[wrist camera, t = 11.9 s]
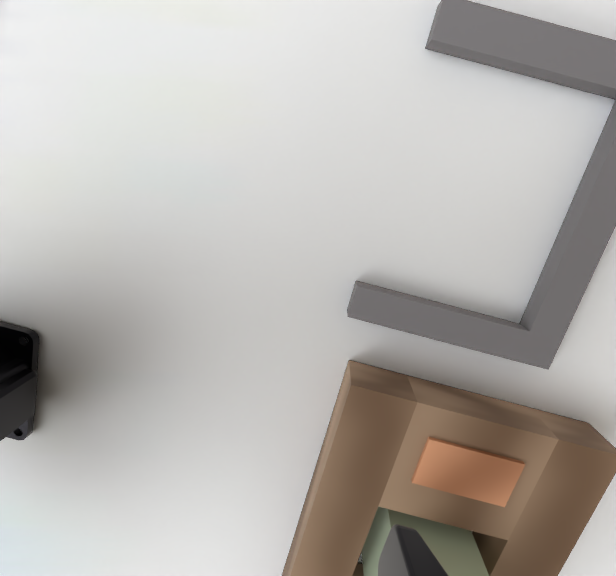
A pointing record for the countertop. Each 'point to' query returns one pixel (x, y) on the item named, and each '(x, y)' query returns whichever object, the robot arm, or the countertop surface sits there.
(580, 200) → the bracket
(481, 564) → the pale green block
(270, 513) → the countertop surface
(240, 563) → the countertop surface
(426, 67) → the countertop surface
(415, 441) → the socket holder
